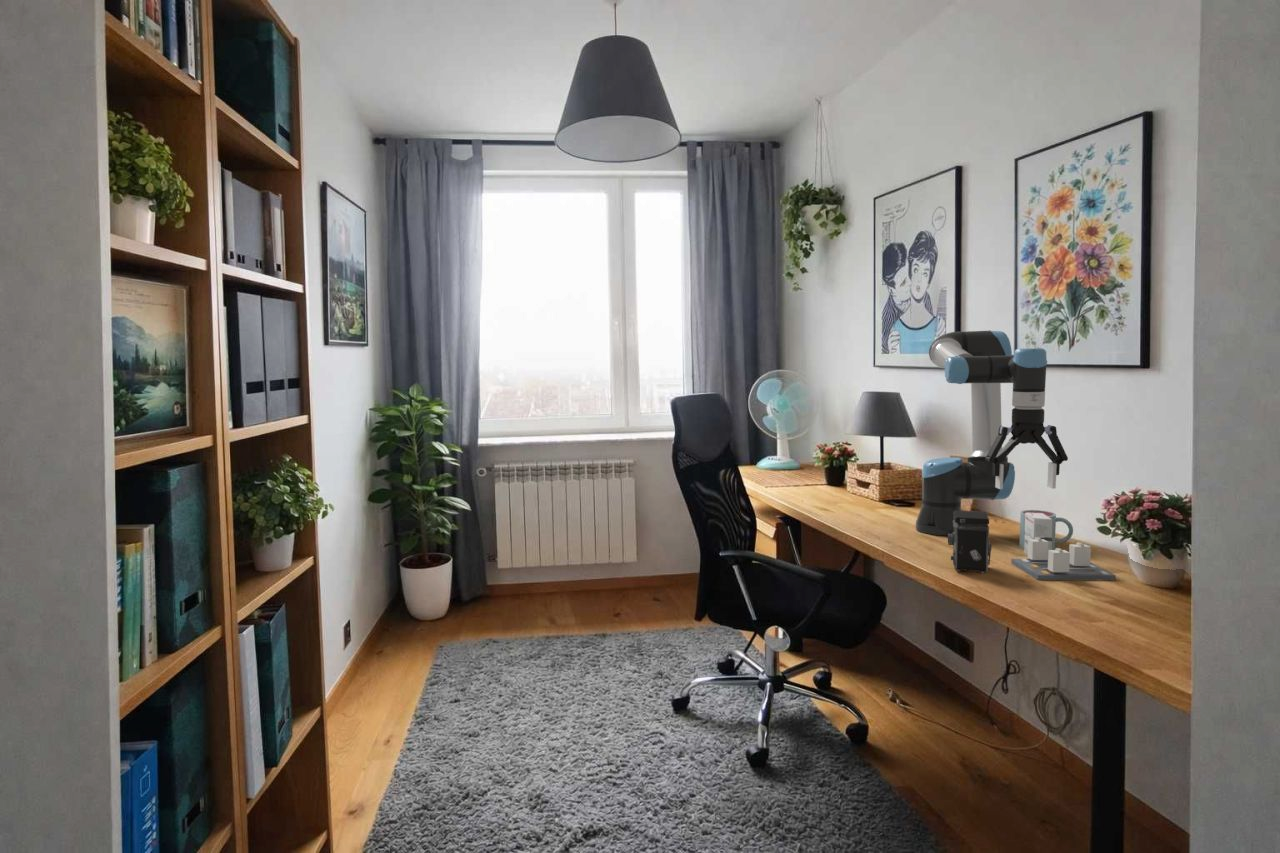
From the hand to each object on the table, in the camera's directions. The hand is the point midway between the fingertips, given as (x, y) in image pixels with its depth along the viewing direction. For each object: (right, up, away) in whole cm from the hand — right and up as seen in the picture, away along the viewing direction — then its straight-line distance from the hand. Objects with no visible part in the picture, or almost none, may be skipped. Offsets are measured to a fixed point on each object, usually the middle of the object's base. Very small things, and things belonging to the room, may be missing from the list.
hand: (1025, 488), depth 194 cm
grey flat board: (+8, -22, -2) cm, 23 cm away
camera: (-14, -22, +3) cm, 26 cm away
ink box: (+10, -20, +12) cm, 26 cm away
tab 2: (+5, -20, -7) cm, 22 cm away
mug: (+17, -19, +21) cm, 33 cm away
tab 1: (+5, -19, +4) cm, 20 cm away
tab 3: (+13, -20, -2) cm, 24 cm away
